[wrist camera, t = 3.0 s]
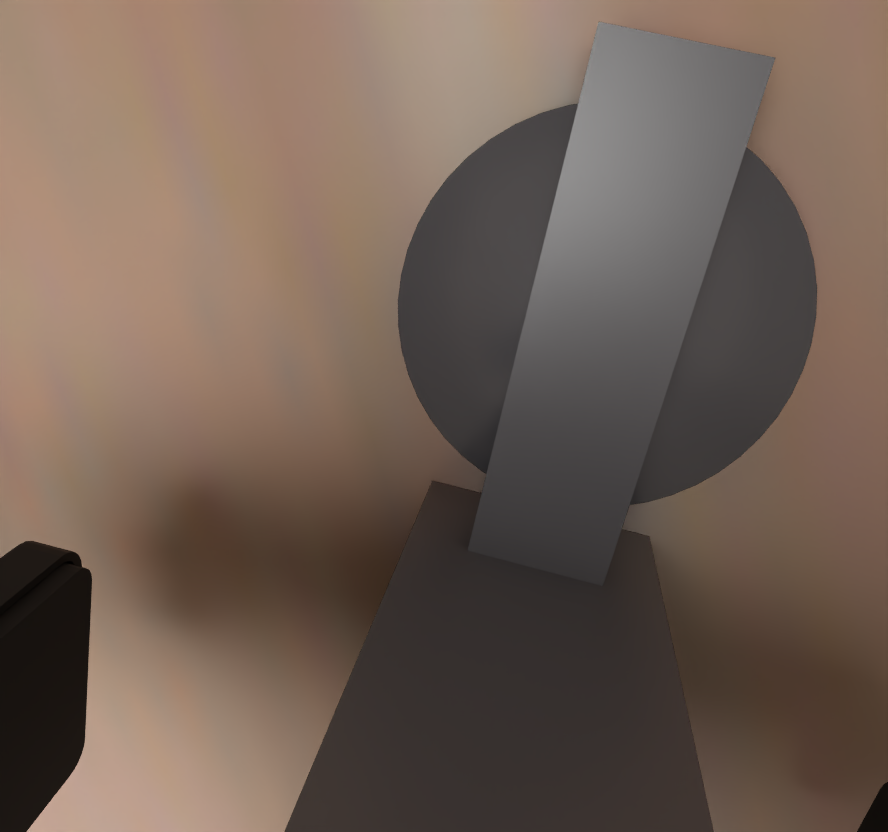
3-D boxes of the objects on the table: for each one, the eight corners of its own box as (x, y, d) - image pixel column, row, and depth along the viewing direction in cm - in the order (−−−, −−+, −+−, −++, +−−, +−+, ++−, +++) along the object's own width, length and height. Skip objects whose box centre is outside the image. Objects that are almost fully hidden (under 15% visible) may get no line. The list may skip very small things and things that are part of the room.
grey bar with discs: (877, 104, 8) (1577, -20, 2) (522, 1045, 14) (491, 1667, 8) (460, 20, 8) (251, -262, 3) (280, 968, 14) (86, 1514, 8)
